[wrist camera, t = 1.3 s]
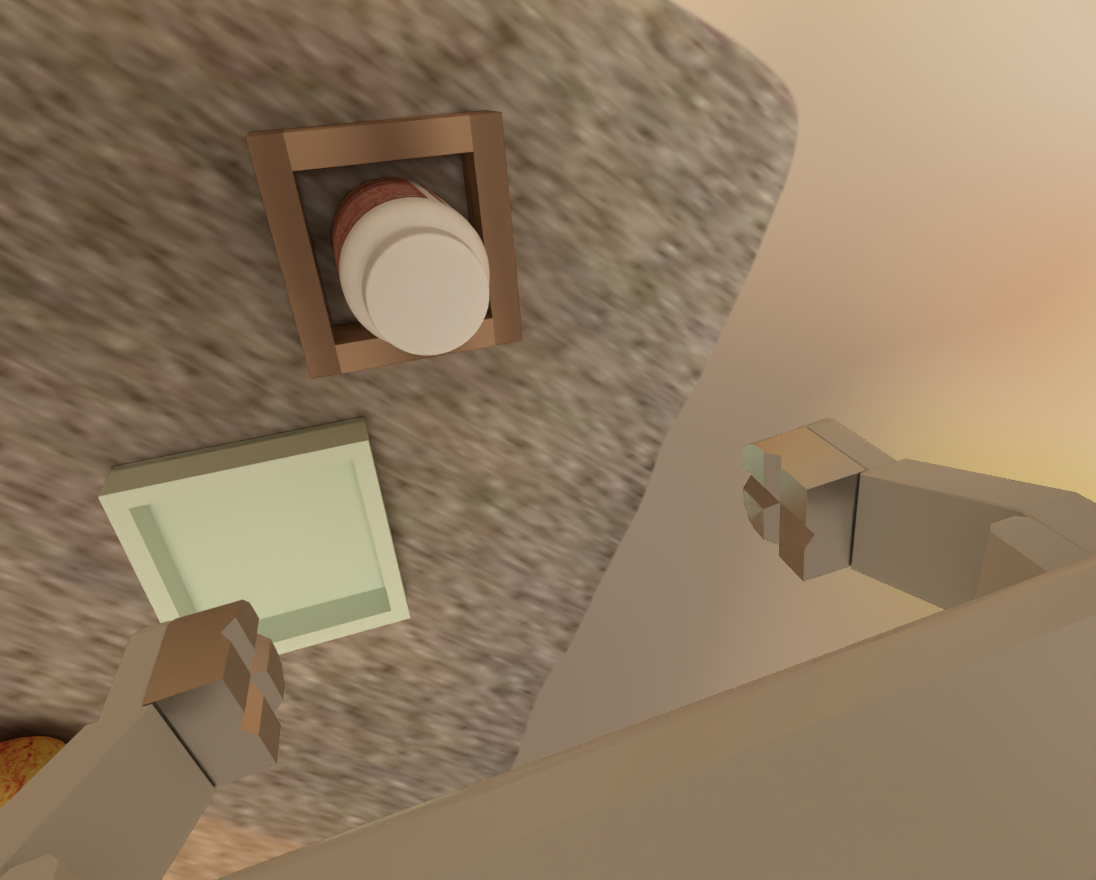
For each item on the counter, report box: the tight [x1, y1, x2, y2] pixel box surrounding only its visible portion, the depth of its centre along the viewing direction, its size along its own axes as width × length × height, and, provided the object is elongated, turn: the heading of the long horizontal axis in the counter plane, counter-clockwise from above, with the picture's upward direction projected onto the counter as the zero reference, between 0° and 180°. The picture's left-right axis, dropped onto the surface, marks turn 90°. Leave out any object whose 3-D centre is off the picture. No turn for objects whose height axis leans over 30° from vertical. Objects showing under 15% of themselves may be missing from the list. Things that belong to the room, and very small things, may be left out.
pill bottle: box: [332, 177, 490, 355], centre depth 29 cm, size 6×6×11 cm
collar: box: [245, 110, 523, 379], centre depth 32 cm, size 11×11×3 cm
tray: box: [98, 417, 410, 655], centre depth 38 cm, size 13×13×3 cm
